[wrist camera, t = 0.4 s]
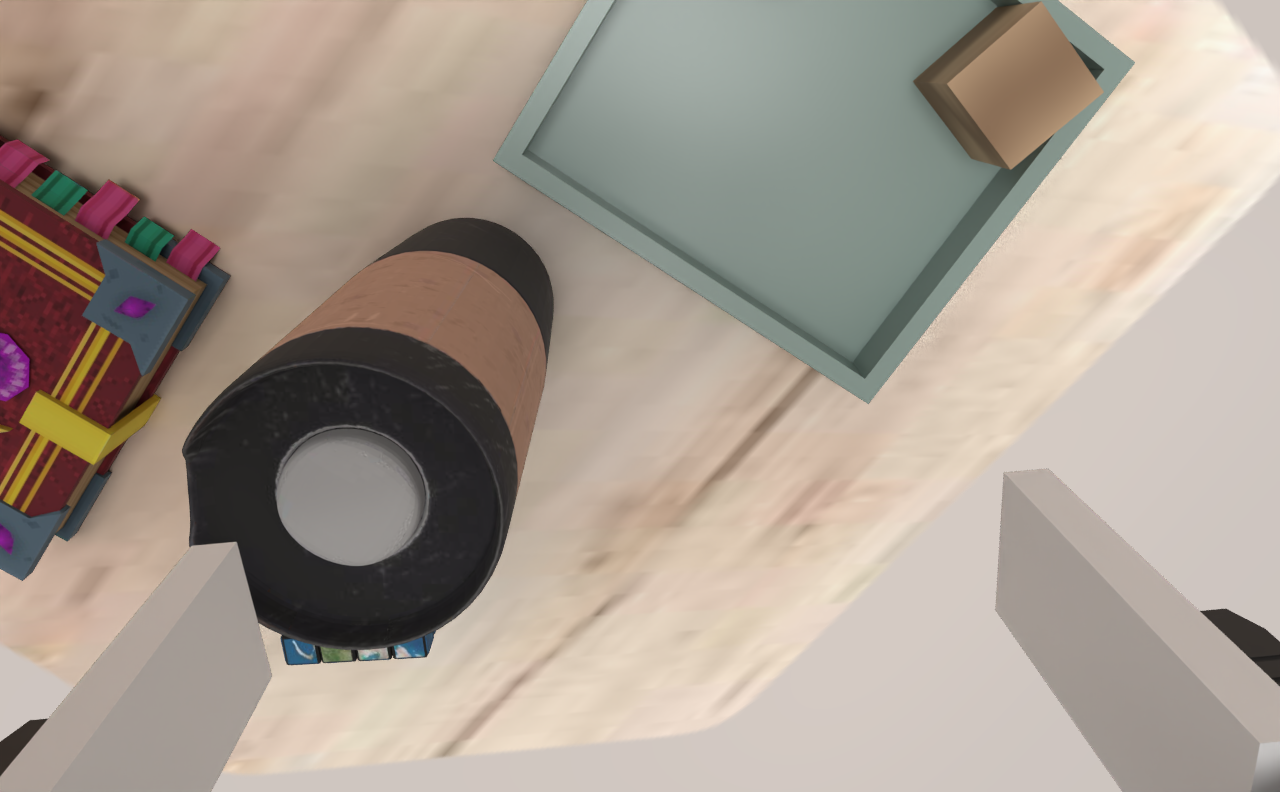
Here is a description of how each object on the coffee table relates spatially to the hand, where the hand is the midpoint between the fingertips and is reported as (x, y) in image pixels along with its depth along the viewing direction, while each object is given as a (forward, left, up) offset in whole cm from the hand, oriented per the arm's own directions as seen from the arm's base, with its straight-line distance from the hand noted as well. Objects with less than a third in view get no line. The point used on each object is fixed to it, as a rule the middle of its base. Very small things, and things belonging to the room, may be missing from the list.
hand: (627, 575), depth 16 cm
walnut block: (+8, +14, -24) cm, 29 cm away
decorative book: (-20, -16, -26) cm, 36 cm away
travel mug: (-5, -5, -25) cm, 26 cm away
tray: (+2, +9, -25) cm, 27 cm away
